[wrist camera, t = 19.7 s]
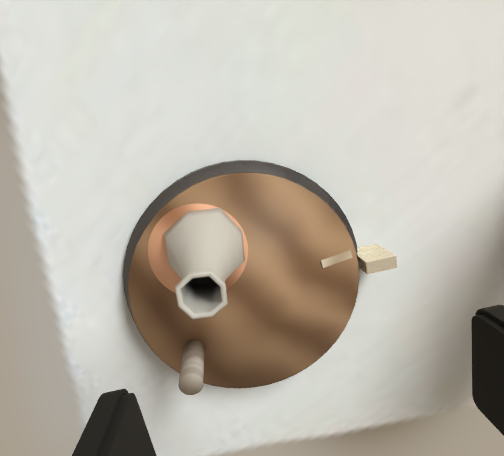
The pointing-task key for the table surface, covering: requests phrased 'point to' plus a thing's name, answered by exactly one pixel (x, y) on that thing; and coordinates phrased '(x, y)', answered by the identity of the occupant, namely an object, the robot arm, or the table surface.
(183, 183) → the base
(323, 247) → the turntable
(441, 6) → the table surface
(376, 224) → the table surface
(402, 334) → the table surface
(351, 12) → the table surface
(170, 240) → the flask
